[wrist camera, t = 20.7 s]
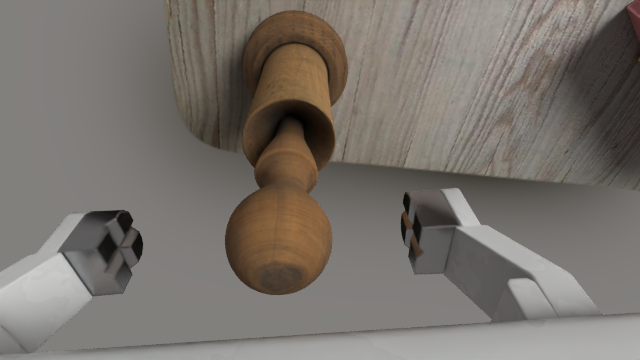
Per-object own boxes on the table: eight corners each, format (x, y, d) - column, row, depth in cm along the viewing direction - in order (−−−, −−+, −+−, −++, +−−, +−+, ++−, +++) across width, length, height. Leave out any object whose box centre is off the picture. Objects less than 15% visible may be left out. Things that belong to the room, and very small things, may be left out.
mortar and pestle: (343, 4, 22) (417, 161, 7) (347, 102, 25) (400, 338, 11) (237, 15, 22) (89, 189, 7) (256, 111, 26) (187, 354, 11)
